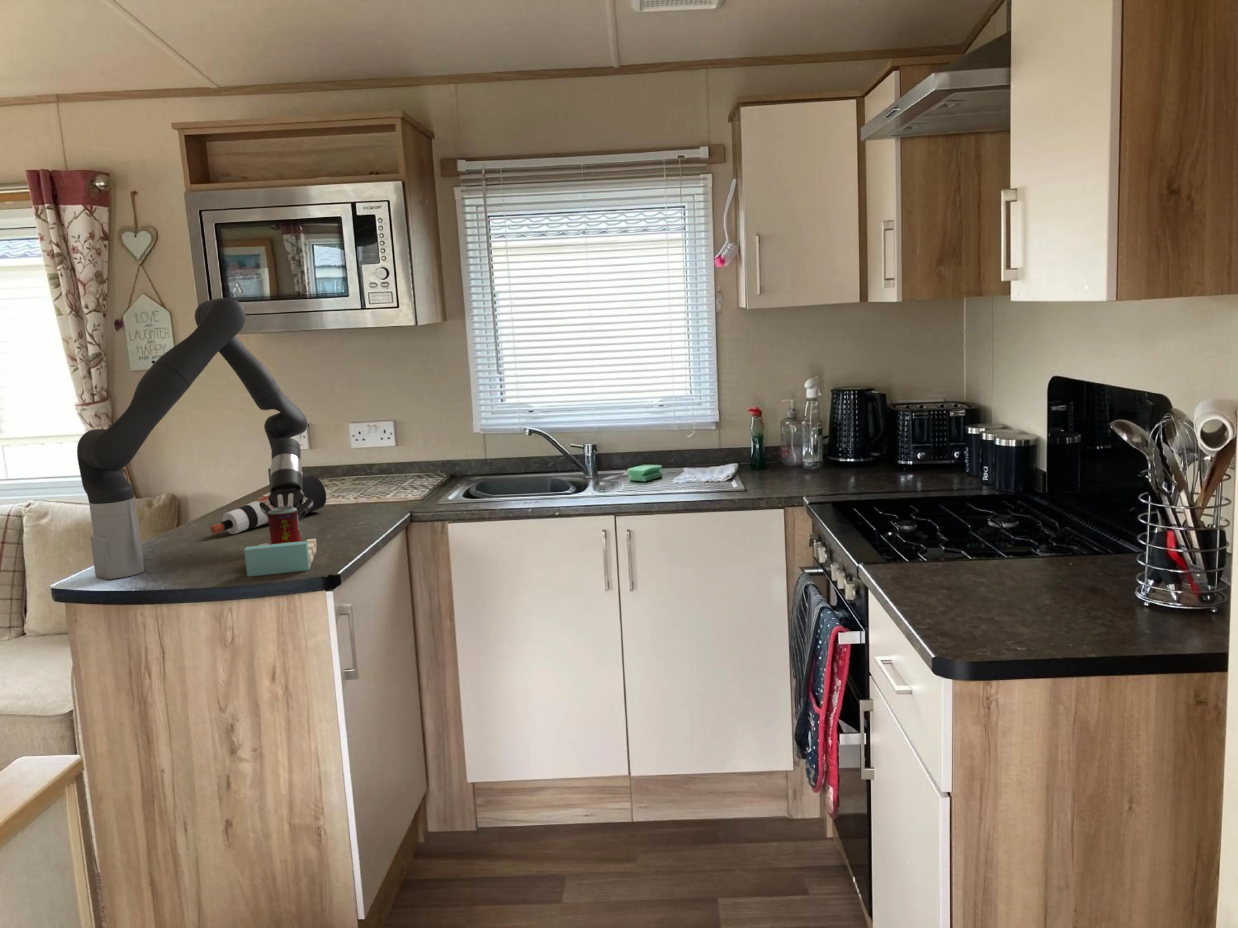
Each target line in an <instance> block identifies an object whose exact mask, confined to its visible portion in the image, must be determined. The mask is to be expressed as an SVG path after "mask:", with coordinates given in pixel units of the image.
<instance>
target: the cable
mask: <svg viewBox="0 0 1238 928" xmlns="http://www.w3.org/2000/svg"><path fill="white" fill-rule="evenodd" d="M302 492H303V493H304V496H305V497H306V498H312V501H313V507H312V508H311V509H310V510H309V511H308V512H307V514H311V513H312V512H315V511H318V510H319V509H322V508H323V507H325V505H326V502H327V492H326V488H325V485H324V484H323V483H322V481H321V480H320V479H319V478H317V477H316V476H315V475H313V474H309V475H304V476H302ZM269 495H270V494H268V495H266V496H263V497H261V498H258V499H256V500H253V501H252V502H250V503H247V504H244V505H242V506H239V507H237V508H235V509H233V510H231V511H227V512H225V513H224V514H223V515H222V521H221V522H219V523H216V524H214V525H212V526H210V527H209V529H210V532H211V533H212V534H213V535H215V534H218V533H221V532H224V531H226V532H227V533H229V534H230V535H236V534H238V533H242V532H243V531H249V530H250V529H253V528H257V527H259V526H261V525H262V526H263V525H267V524H269V521H268V517H267V516H266V515H265V514H264V513H263V512H262V511H261V508H260V505H259V504H260V503H261V502H264V503H265V502H266V501H267V500H268V497H269ZM270 506H271V509H273V508H274V507H273V506H272V505H270ZM301 506H302V503H301V505H300V506H299V507H298V508H297V510H298V509H299V508H300V507H301Z"/></svg>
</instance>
